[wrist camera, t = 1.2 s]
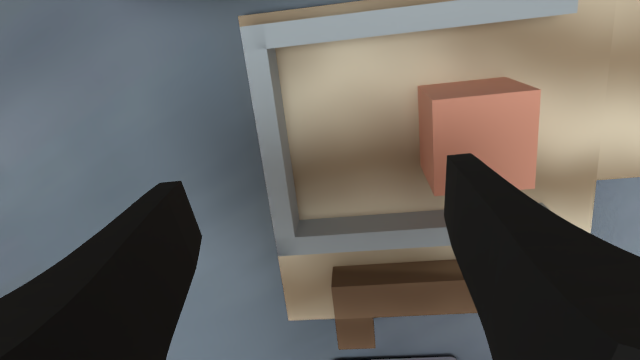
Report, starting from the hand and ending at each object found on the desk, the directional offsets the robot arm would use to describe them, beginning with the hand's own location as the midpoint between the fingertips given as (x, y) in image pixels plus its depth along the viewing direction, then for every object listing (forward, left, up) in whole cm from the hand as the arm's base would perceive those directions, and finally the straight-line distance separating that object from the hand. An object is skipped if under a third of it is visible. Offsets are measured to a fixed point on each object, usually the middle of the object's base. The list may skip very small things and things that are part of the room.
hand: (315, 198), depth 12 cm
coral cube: (-1, -6, -10) cm, 12 cm away
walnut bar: (-9, -3, -10) cm, 14 cm away
